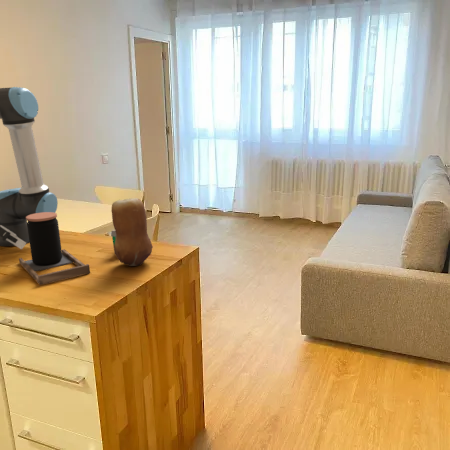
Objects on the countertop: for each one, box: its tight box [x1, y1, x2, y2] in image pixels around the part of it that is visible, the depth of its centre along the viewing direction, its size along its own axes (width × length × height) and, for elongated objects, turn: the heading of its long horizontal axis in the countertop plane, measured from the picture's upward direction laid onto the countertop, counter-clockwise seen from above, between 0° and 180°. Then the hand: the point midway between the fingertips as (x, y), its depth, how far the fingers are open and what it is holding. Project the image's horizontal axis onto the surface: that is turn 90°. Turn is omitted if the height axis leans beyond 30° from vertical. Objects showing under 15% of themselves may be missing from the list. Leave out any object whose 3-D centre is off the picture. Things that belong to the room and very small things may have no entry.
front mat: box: [24, 254, 74, 272], centre depth 168 cm, size 13×15×1 cm
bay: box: [18, 249, 91, 286], centre depth 162 cm, size 28×17×3 cm, turn 37°
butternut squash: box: [110, 197, 154, 267], centre depth 160 cm, size 14×13×25 cm
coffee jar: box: [26, 212, 63, 266], centre depth 166 cm, size 11×11×18 cm
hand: (18, 241), depth 160 cm, fingers open, 13 cm apart
